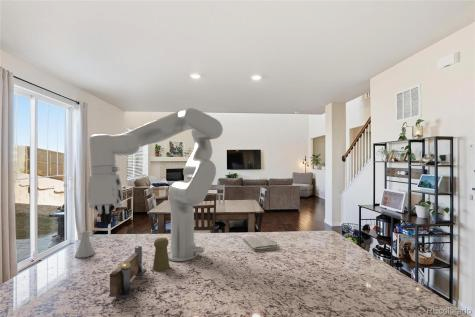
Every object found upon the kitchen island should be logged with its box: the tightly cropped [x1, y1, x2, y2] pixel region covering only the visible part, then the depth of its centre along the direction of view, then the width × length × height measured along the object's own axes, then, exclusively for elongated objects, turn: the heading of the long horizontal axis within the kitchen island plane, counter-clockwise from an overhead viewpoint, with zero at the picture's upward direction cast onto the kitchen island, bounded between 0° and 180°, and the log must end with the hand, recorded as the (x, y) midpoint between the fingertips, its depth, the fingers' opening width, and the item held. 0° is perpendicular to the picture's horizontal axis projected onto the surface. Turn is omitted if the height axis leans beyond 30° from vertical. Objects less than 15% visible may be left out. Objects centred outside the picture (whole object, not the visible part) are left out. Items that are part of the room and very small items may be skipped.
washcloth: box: [242, 234, 278, 253], centre depth 120 cm, size 12×18×3 cm, turn 16°
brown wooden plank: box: [109, 252, 139, 298], centre depth 81 cm, size 17×2×6 cm, turn 0°
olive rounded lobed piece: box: [152, 237, 171, 272], centre depth 95 cm, size 6×6×11 cm
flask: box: [74, 230, 96, 259], centre depth 108 cm, size 7×7×10 cm
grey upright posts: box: [115, 245, 147, 299], centre depth 83 cm, size 7×19×9 cm, turn 178°
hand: (106, 224), depth 86 cm, fingers closed
